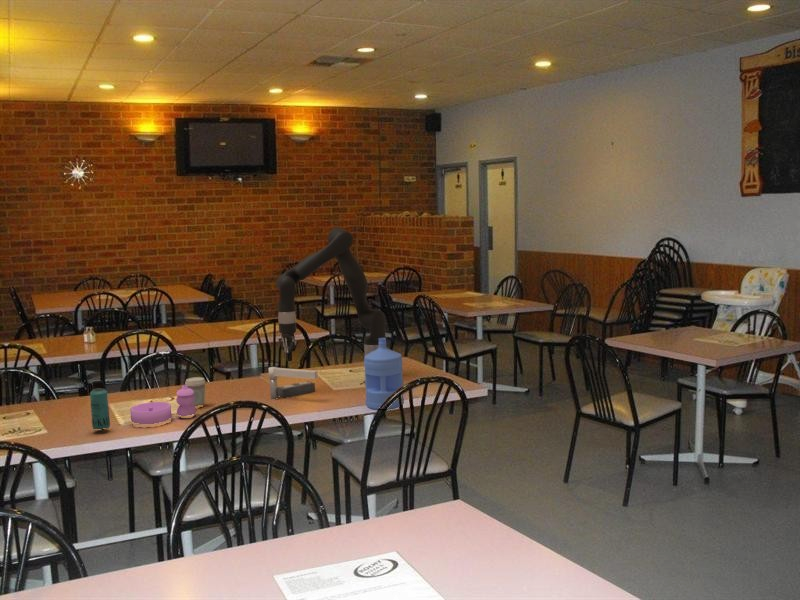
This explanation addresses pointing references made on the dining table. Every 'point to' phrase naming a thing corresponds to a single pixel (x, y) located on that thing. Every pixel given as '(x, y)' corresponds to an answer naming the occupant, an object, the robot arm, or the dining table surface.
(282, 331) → the robot arm
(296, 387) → the block
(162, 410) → the container set
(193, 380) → the coffee cup
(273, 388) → the post
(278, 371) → the bar
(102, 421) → the beverage bottle
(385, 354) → the water jug
